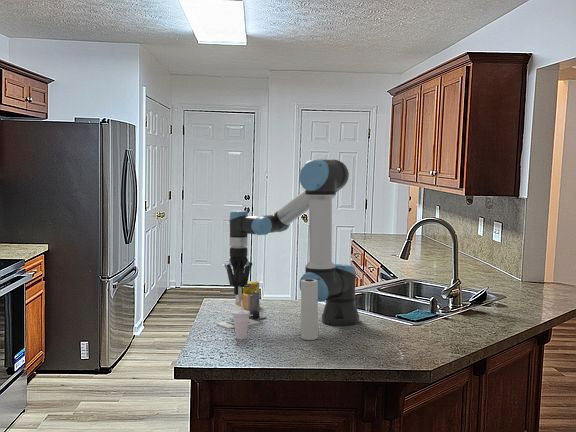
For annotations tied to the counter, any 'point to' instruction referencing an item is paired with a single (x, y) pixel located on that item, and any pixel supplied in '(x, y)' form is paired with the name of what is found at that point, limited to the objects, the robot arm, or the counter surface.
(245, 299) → the orange rectangular slab
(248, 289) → the supplement box
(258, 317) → the pivot post
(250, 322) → the label tile
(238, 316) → the smoothie
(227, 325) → the label tile
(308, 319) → the paper towel roll
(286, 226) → the robot arm
